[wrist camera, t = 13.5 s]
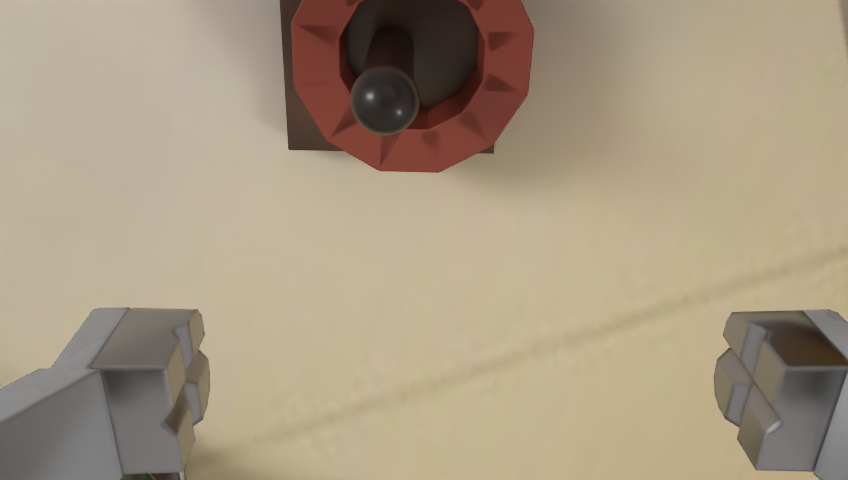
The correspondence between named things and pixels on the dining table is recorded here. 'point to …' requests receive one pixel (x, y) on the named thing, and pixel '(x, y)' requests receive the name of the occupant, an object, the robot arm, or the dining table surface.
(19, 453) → the robot arm
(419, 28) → the peg stand
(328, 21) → the ring
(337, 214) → the dining table surface
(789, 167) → the dining table surface
